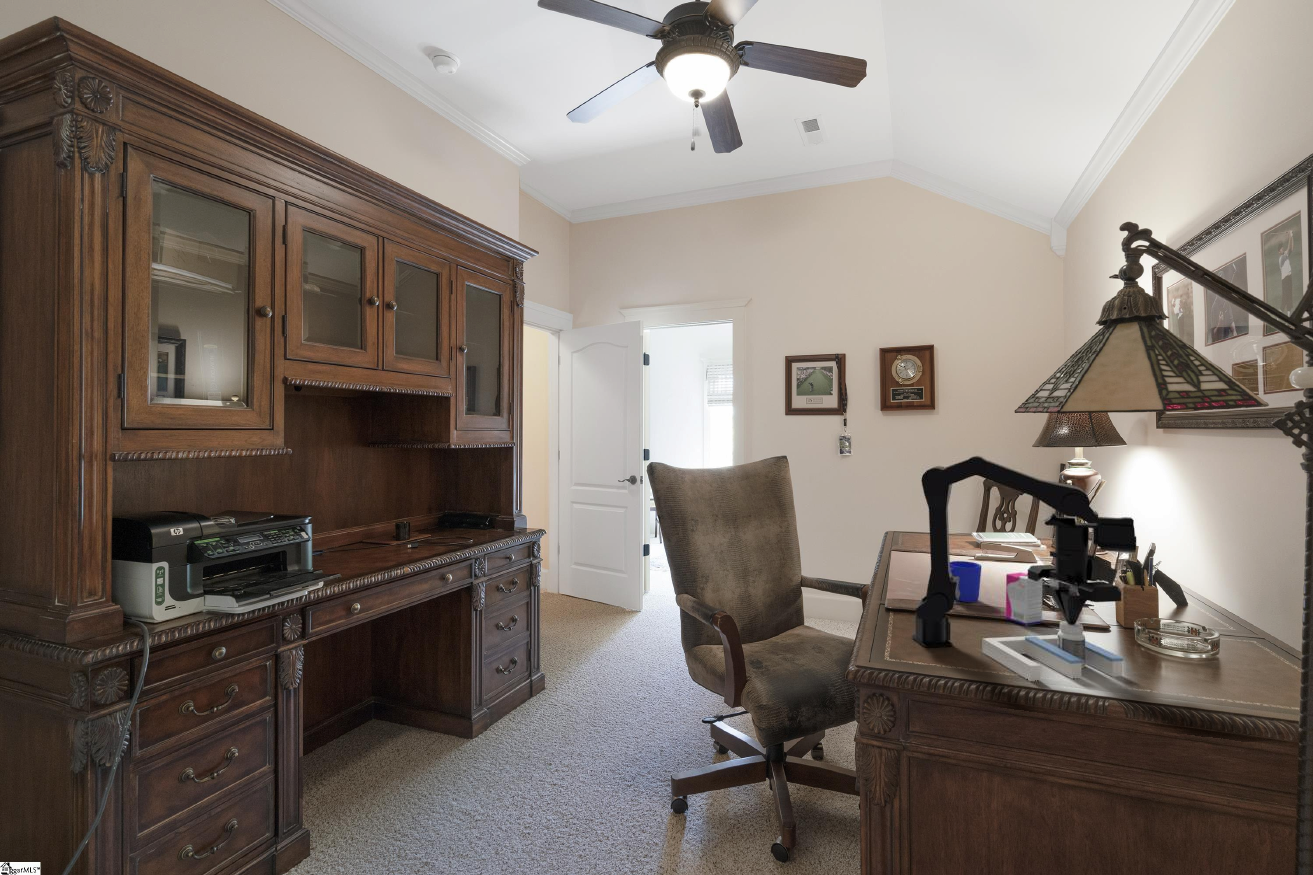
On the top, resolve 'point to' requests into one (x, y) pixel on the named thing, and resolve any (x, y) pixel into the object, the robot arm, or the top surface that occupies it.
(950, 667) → the top surface
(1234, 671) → the top surface
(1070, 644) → the pill bottle
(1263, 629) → the top surface
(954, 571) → the mug
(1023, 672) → the white shelf frame
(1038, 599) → the supplement box
